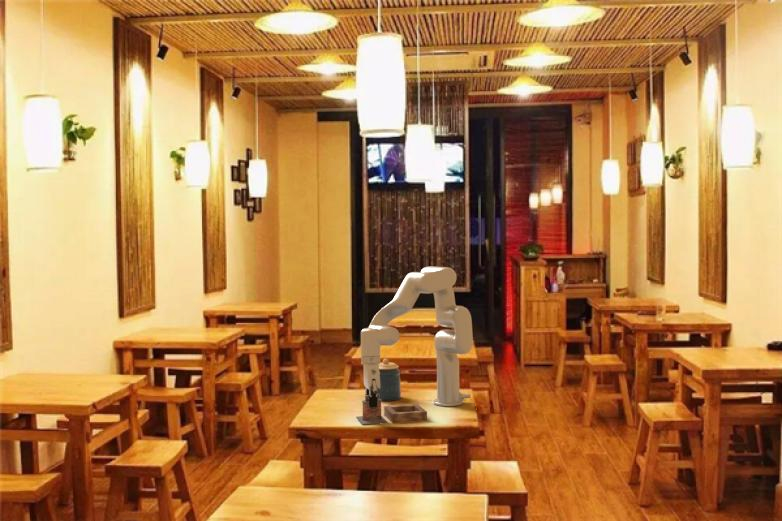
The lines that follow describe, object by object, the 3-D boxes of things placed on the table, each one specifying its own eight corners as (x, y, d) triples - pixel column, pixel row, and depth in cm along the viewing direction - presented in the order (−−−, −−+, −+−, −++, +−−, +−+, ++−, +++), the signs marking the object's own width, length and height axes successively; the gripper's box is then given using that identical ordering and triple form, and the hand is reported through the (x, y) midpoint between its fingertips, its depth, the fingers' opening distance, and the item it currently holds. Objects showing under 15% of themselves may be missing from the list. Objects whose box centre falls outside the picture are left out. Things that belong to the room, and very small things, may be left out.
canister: (375, 402, 360) (374, 361, 359) (368, 396, 373) (368, 357, 372) (404, 400, 363) (403, 360, 362) (397, 394, 376) (396, 355, 375)
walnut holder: (417, 412, 340) (417, 404, 340) (427, 420, 327) (427, 411, 327) (384, 414, 337) (384, 406, 337) (392, 423, 323) (392, 414, 323)
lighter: (364, 421, 325) (364, 395, 324) (360, 419, 328) (360, 394, 327) (383, 418, 328) (383, 393, 327) (379, 416, 331) (379, 392, 330)
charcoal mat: (380, 416, 335) (380, 414, 335) (387, 423, 323) (387, 421, 323) (356, 418, 332) (356, 416, 332) (362, 425, 321) (362, 423, 321)
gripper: (385, 362, 319) (385, 409, 320) (375, 355, 336) (375, 400, 337) (365, 363, 317) (366, 410, 318) (356, 356, 334) (357, 401, 335)
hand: (371, 404), depth 327 cm, fingers open, 6 cm apart
